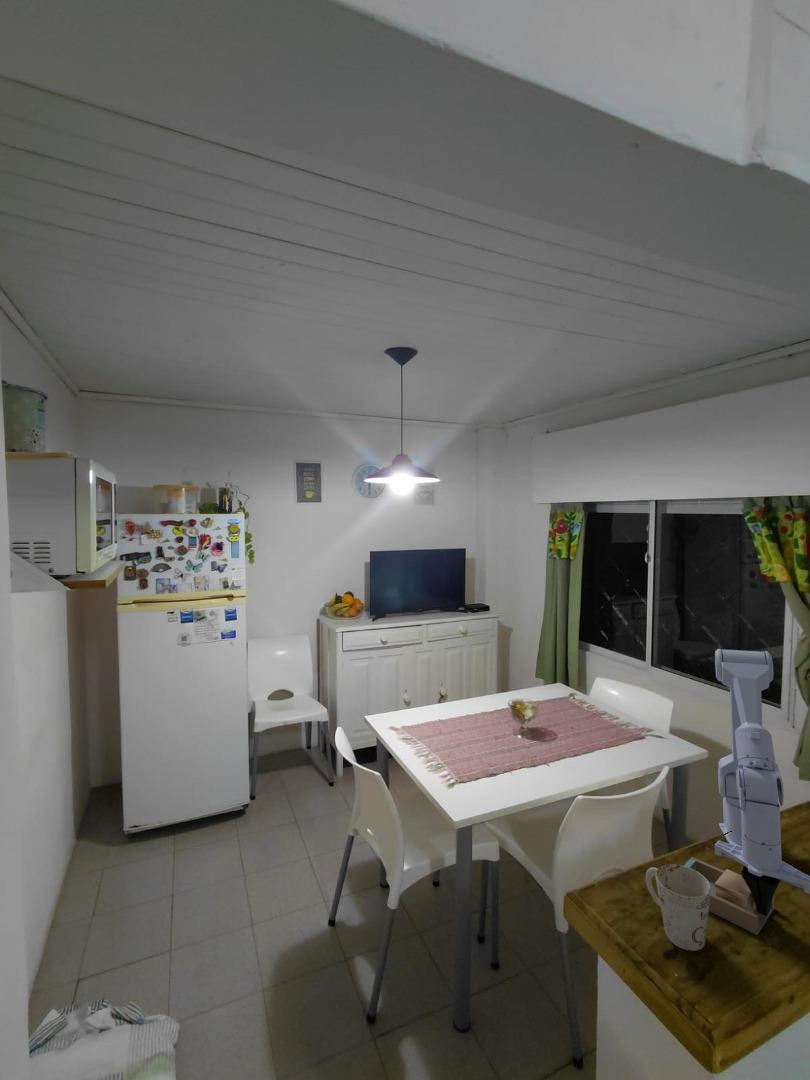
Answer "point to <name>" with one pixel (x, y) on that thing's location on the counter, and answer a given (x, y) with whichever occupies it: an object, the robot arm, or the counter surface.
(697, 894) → the mug
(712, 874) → the bay
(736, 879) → the tan wooden block
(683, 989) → the counter surface
